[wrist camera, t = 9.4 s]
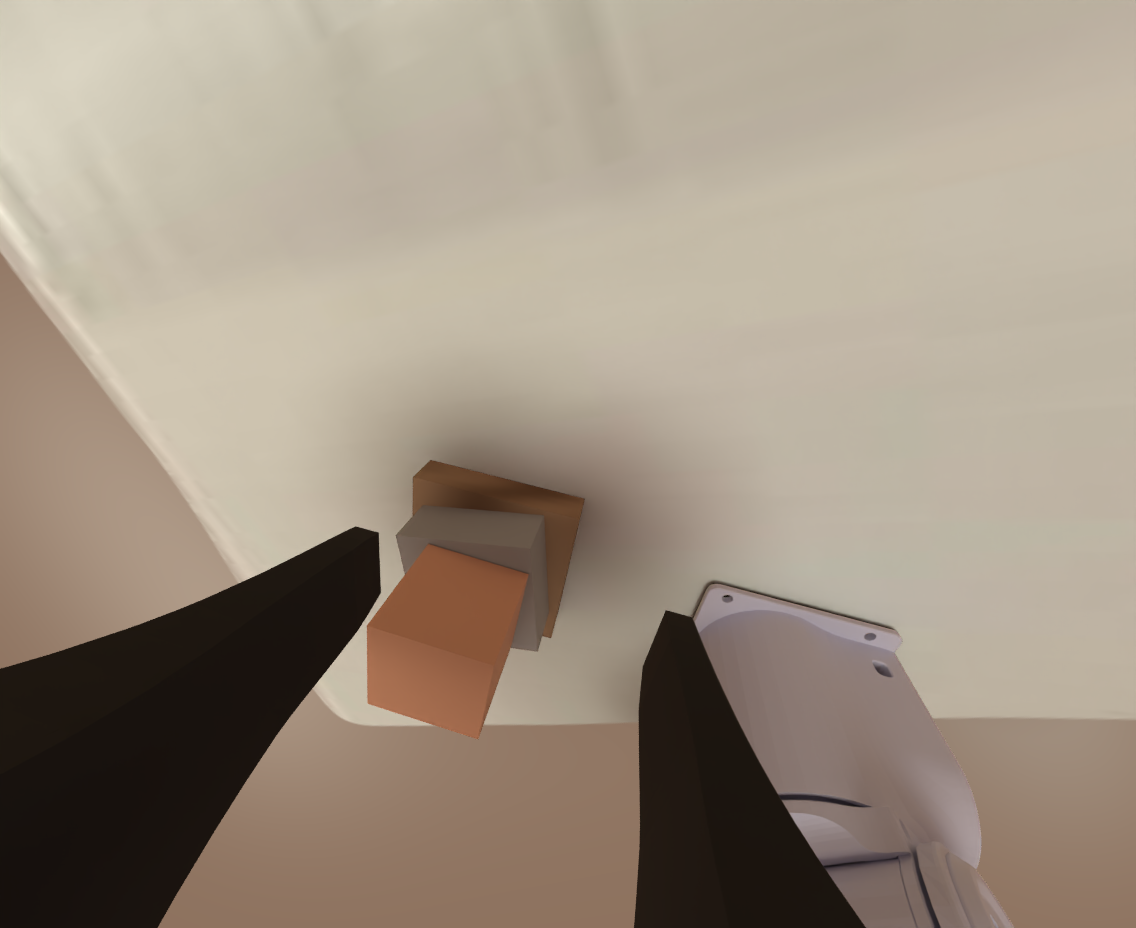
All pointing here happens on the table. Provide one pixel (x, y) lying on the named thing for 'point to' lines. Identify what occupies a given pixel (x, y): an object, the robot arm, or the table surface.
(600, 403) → the table surface
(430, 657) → the terracotta cube
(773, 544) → the table surface
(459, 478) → the walnut slab
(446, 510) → the grey slab
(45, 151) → the table surface
